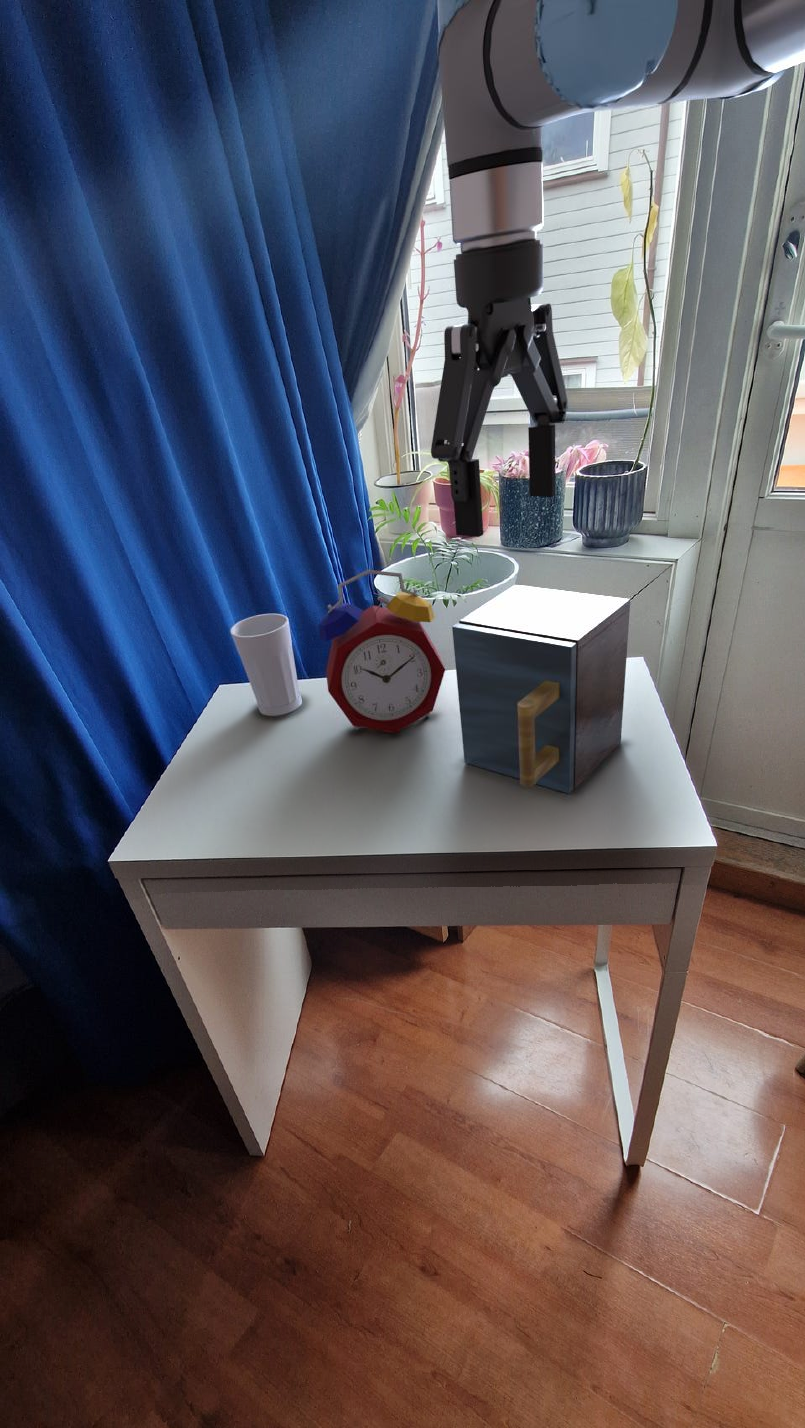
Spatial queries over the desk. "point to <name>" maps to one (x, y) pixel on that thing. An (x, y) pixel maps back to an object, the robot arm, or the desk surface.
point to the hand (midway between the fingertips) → (507, 515)
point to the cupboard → (597, 656)
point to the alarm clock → (382, 659)
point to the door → (517, 704)
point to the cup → (269, 662)
